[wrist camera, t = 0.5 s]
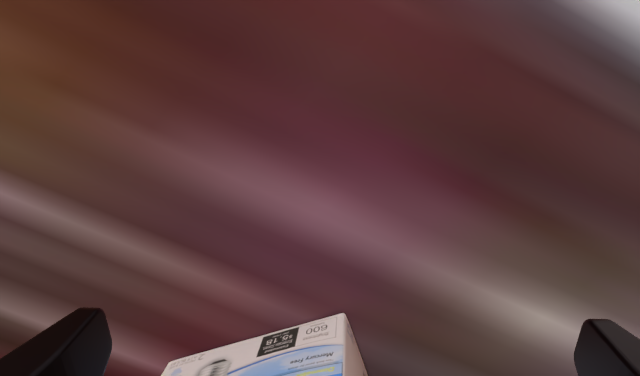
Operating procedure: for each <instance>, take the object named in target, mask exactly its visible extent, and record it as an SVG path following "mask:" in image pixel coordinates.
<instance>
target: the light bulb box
mask: <svg viewBox="0 0 640 376" xmlns="http://www.w3.org/2000/svg"><path fill="white" fill-rule="evenodd" d="M161 376H368V374H367V371H366V369H365V366H364V363H363V360H362V357H361V354H360V352H359V349H358V346H357V343H356V341H355V338H354V335H353V332H352V329H351V327H350V324H349V321H348V319H347V317H346V315H345V314H344V313H341V314H337V315H333V316H330V317H326V318H323V319H319V320H316V321H312V322H308V323H305V324H301V325H298V326H294V327H291V328H287V329H284V330H280V331H276V332H273V333H269V334H266V335H262V336H259V337H255V338H252V339H248V340H244V341H241V342H237V343H234V344H230V345H227V346H223V347H220V348H216V349H213V350H209V351H205V352H202V353H198V354H194V355H191V356H188V357H184V358H181V359H177V360H174V361H171V362H169V363H168V365H167V367H166V368H165V370H164V372H163V373H162V375H161Z"/></svg>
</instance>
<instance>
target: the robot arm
mask: <svg viewBox="0 0 640 376" xmlns="http://www.w3.org/2000/svg"><path fill="white" fill-rule="evenodd" d="M111 349H112V339H111V335H110V331H109V327H108V323H107V320H106V316H105V313H104V311H103V310H102V309H100V308H85V307H83V308H79V309H77V310H75V311H74V312H72V313H70V314H69V315H67V316H66V317H64V318H63V319H61V320H60V321H58V322H56V323H55V324H53V325H52V326H50V327H49V328H47V329H46V330H44V331H42V332H41V333H39V334H38V335H36V336H35V337H33V338H32V339H30V340H29V341H27V342H25V343H24V344H22V345H21V346H19V347H18V348H16V349H15V350H13V351H11V352H10V353H8V354H7V355H5V356H4V357H2V358H1V359H0V376H103V375H104V372H105V369H106V366H107V363H108V360H109V357H110V354H111ZM574 362H575V366H576V370H577V373H578V376H640V339H638V338H637V337H635V336H634V335H632V334H631V333H630V332H628V331H627V330H625V329H624V328H622V327H621V326H619V325H618V324H616V323H615V322H613V321H611V320H608V319H588V320H586V321H585V322H584V323H583V325H582V328H581V331H580V334H579V338H578V341H577V344H576V348H575V351H574Z"/></svg>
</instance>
